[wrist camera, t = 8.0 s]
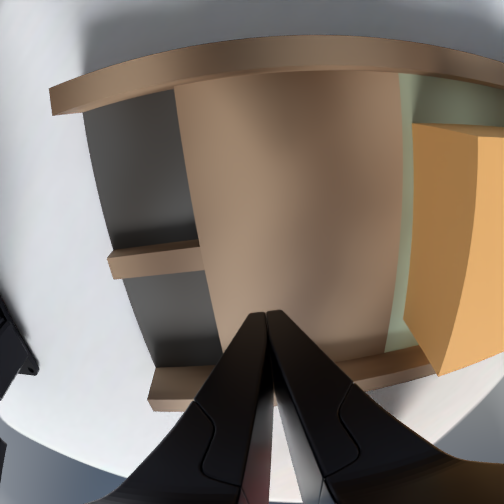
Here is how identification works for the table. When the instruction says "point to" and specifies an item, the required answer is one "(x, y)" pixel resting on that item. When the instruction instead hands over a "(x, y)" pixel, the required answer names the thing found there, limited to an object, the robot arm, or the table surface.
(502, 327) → the block
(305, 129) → the trap box
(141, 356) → the table surface
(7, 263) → the table surface
